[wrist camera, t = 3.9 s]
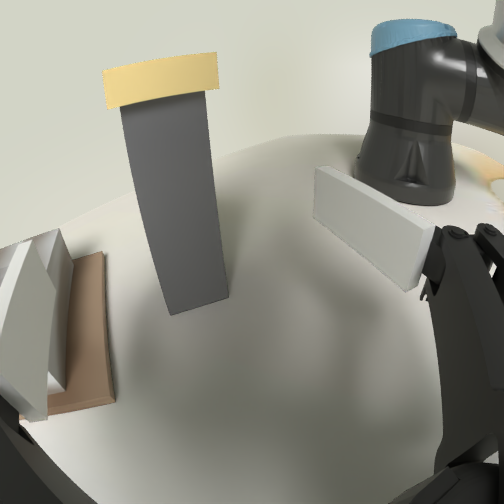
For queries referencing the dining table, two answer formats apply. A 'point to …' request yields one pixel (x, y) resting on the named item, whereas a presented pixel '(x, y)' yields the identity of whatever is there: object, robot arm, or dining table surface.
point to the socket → (73, 326)
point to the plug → (173, 171)
